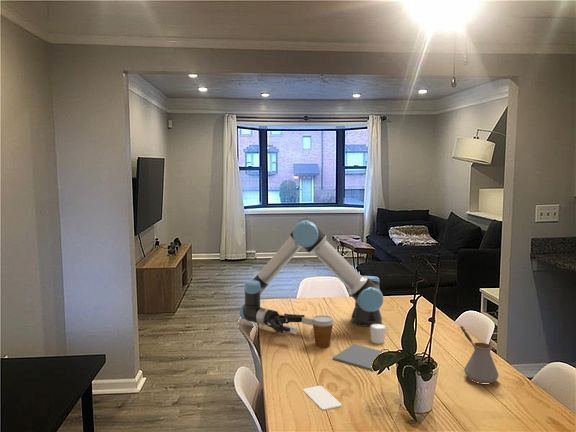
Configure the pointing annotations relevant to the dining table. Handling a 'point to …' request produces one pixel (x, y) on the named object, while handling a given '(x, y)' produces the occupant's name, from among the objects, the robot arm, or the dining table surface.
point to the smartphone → (322, 398)
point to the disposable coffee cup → (322, 330)
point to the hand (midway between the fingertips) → (305, 326)
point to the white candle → (378, 333)
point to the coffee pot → (480, 363)
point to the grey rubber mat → (358, 356)
